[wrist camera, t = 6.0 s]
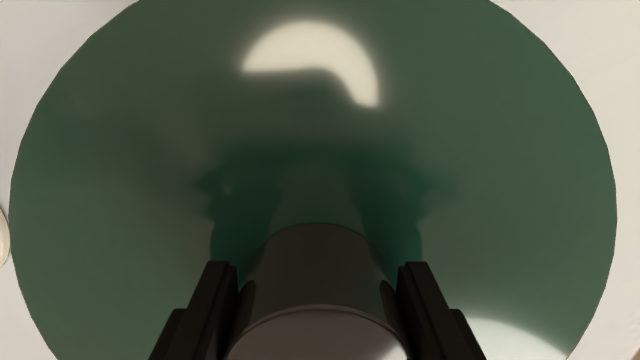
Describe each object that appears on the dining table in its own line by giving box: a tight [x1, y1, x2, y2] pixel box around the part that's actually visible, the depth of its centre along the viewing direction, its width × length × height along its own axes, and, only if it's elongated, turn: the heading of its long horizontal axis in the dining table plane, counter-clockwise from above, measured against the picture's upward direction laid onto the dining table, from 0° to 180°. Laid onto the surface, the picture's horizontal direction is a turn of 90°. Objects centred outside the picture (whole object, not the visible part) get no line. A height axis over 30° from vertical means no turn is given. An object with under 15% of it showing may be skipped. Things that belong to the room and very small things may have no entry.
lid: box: [8, 0, 617, 360], centre depth 11 cm, size 18×18×5 cm
